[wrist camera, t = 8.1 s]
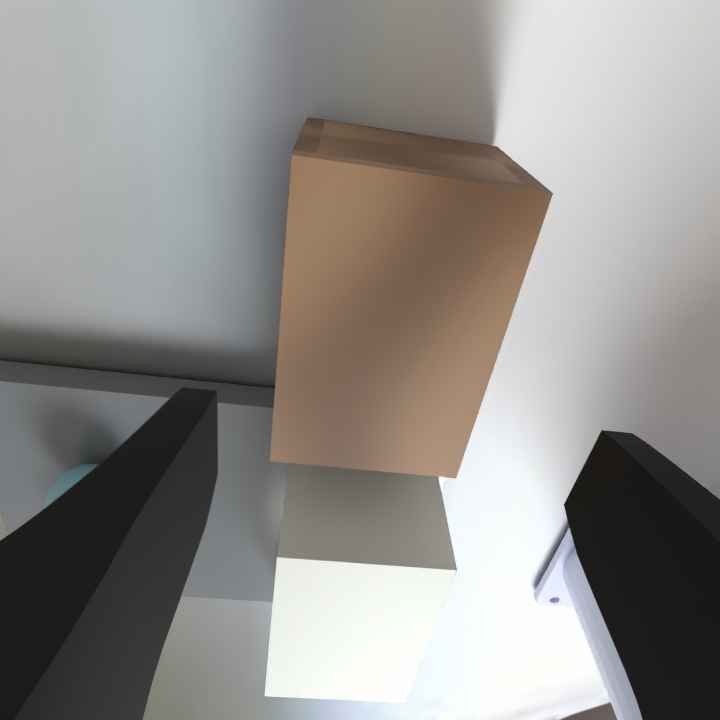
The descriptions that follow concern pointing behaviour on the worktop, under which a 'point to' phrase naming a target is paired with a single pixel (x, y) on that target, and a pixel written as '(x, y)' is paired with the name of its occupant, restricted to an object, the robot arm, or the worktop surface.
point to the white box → (356, 583)
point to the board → (116, 424)
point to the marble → (66, 482)
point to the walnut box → (395, 295)
